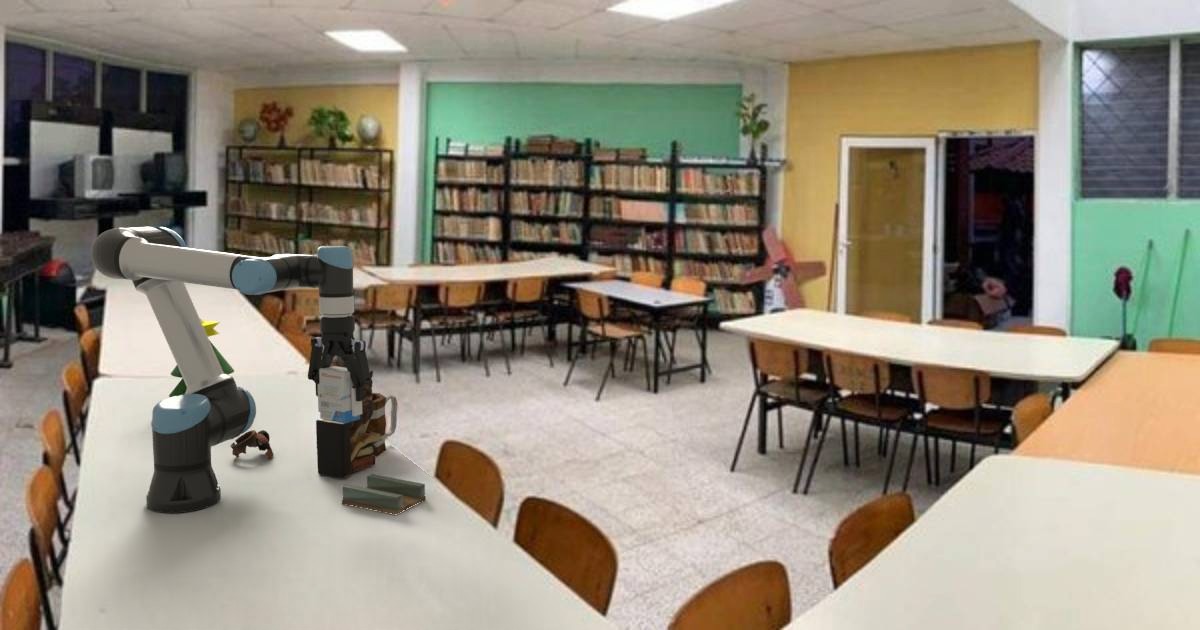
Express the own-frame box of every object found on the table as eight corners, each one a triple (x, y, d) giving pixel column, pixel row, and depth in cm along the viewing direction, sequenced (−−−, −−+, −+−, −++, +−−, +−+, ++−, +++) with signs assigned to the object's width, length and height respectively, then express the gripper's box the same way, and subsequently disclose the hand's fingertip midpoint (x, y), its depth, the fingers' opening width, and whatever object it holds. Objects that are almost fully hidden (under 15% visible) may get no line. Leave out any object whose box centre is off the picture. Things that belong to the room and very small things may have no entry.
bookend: (343, 481, 218) (342, 381, 214) (312, 473, 223) (311, 375, 220) (387, 467, 230) (386, 372, 227) (357, 459, 236) (356, 366, 232)
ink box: (362, 419, 204) (360, 368, 202) (345, 424, 200) (343, 371, 198) (336, 414, 208) (334, 364, 207) (319, 418, 204) (317, 367, 203)
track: (396, 515, 196) (396, 497, 196) (341, 504, 202) (341, 487, 202) (425, 500, 206) (425, 483, 206) (372, 489, 212) (372, 473, 212)
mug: (357, 461, 234) (357, 406, 232) (324, 452, 241) (323, 398, 239) (413, 445, 250) (413, 393, 248) (379, 437, 257) (379, 386, 255)
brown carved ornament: (268, 465, 230) (250, 440, 227) (238, 478, 232) (220, 453, 229) (286, 441, 241) (268, 417, 239) (257, 454, 243) (240, 429, 241)
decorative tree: (213, 423, 267) (210, 323, 263) (155, 418, 270) (151, 320, 266) (249, 408, 286) (247, 315, 282) (195, 404, 289) (192, 312, 285)
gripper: (386, 315, 200) (389, 414, 203) (311, 310, 209) (314, 404, 212) (365, 319, 193) (368, 421, 196) (288, 314, 202) (291, 411, 205)
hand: (340, 412), depth 204 cm, fingers closed on ink box, 9 cm apart
